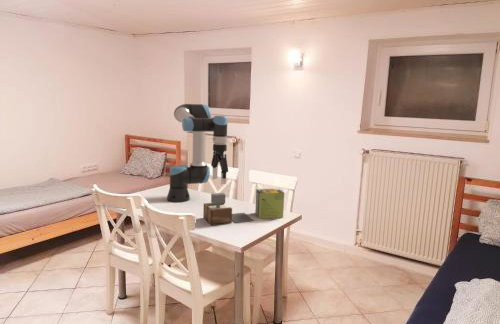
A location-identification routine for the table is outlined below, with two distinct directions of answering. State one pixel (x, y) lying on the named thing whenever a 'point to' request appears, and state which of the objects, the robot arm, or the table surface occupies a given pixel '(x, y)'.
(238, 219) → the rubber mat
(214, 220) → the walnut box
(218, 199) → the grey angular piece
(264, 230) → the table surface
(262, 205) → the protein box
